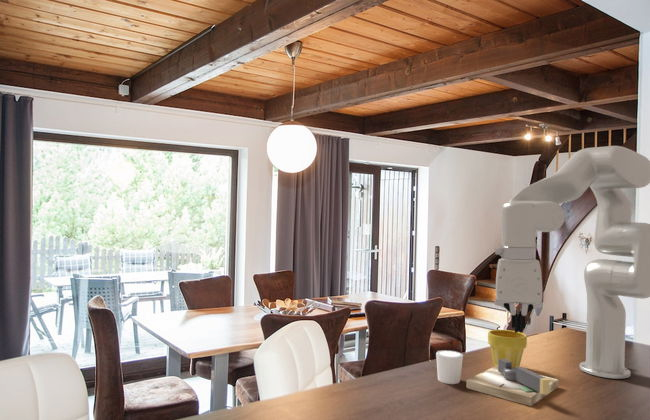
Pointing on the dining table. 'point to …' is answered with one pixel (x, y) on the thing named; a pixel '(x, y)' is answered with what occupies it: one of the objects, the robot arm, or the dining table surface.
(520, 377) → the grey dial pointer
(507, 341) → the plant pot
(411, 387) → the dining table surface
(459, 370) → the white cup
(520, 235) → the robot arm
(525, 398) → the tuner board
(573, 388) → the dining table surface
